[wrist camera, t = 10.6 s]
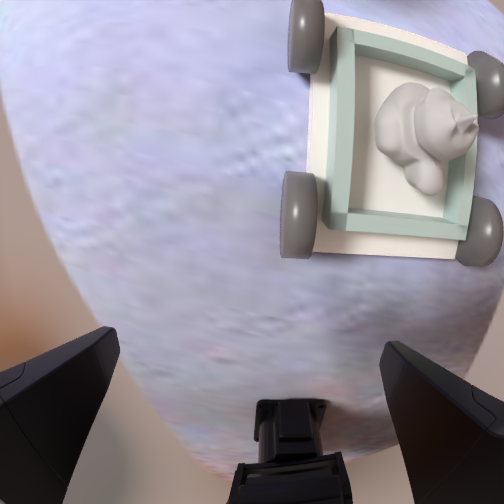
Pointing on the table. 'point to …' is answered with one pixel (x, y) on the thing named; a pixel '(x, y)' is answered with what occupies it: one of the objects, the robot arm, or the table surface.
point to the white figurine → (423, 133)
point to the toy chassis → (366, 153)
